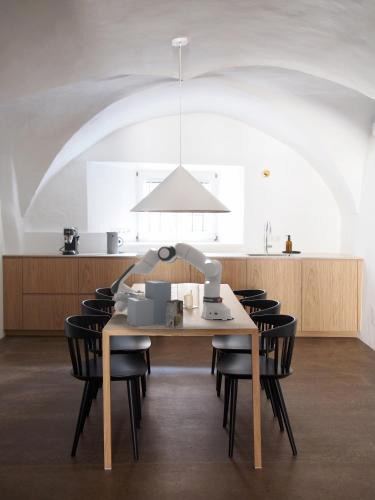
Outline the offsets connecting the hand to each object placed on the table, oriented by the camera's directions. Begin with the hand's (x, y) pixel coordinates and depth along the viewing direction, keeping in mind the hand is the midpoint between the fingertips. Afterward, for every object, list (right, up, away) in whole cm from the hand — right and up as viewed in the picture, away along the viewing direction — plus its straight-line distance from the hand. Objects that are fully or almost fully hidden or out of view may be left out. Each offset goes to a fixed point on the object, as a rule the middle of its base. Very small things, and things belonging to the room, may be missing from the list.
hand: (132, 291), depth 318 cm
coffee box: (+28, -20, -19) cm, 39 cm away
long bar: (+3, -3, -6) cm, 8 cm away
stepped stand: (+11, -19, -8) cm, 24 cm away
